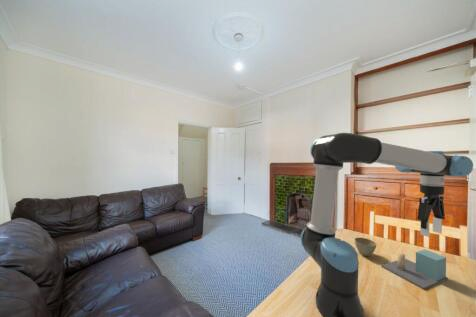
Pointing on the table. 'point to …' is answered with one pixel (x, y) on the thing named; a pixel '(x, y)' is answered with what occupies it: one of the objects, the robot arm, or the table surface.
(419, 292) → the table surface
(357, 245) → the grey brown bowl
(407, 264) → the stand
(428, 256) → the pale blue block
